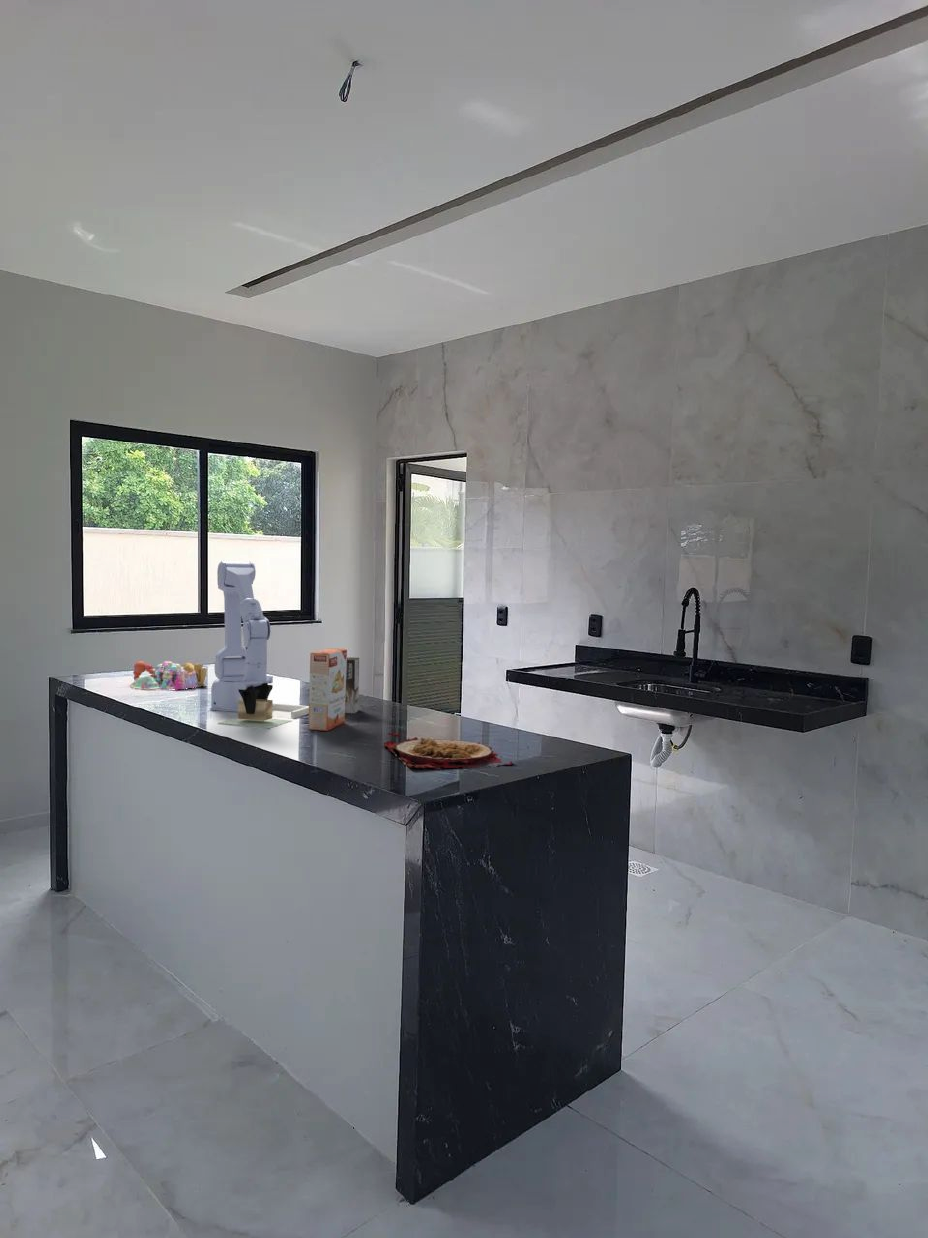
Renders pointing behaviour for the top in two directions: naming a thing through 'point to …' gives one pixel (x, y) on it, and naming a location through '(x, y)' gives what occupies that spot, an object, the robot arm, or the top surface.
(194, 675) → the candy landscape model
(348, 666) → the coffee box
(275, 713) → the shelf slot
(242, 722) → the stand mat
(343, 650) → the cracker box
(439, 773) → the top surface
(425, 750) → the plate with food
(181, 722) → the top surface
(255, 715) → the oak block
